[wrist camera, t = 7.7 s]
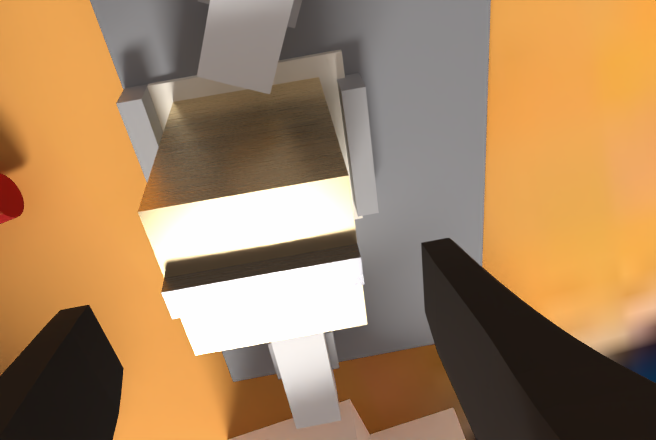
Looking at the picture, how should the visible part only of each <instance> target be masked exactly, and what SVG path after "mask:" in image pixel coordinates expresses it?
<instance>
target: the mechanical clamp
mask: <svg viewBox="0 0 656 440" xmlns="http://www.w3.org/2000/svg"><path fill="white" fill-rule="evenodd" d="M23 209H24V201H23V197H22V195H21V192H20V190H19V189H18V187H17V186H16V185H15V183H14V182H13V181H12V180H11V179H10V178H8V177H7V176H5V175H3V174H0V224H1V223H4V222H6V221H9V220H11V219H14V218H16V217H18V216H20V215H21V214H22V212H23Z"/></svg>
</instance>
